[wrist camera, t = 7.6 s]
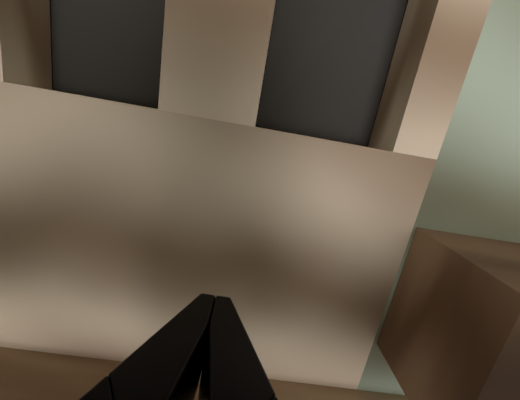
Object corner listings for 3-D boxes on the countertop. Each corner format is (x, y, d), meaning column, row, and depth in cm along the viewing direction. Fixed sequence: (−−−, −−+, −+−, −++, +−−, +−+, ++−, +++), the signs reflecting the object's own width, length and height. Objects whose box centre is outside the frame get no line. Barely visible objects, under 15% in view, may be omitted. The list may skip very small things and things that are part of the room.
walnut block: (493, 358, 11) (619, 482, 7) (376, 343, 11) (444, 465, 7) (548, 247, 10) (739, 329, 6) (416, 227, 9) (527, 298, 6)
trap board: (466, 386, 14) (545, 484, 10) (26, 332, 13) (-73, 422, 9) (660, -14, 9) (944, -111, 6) (-9, -173, 8) (-257, -453, 4)
